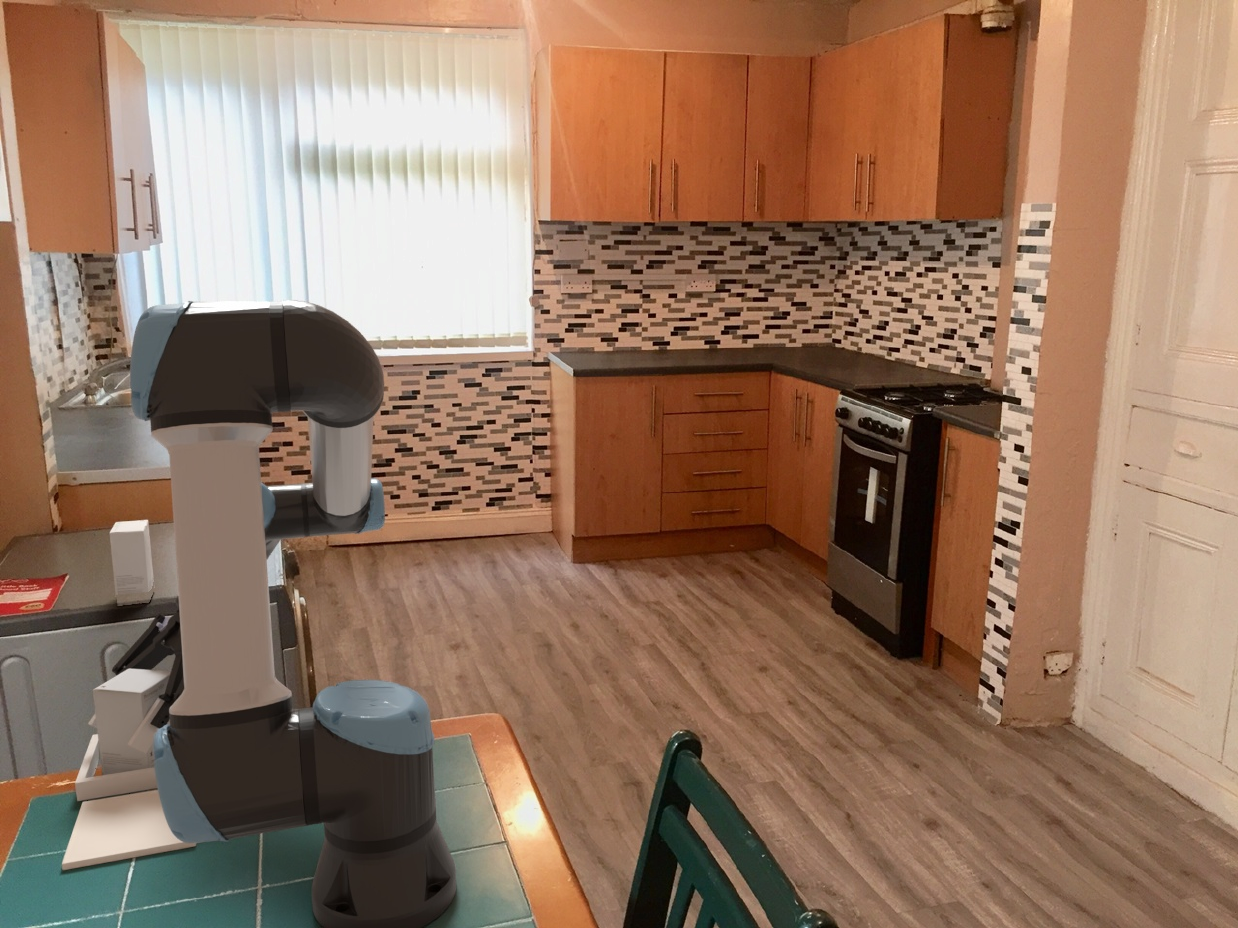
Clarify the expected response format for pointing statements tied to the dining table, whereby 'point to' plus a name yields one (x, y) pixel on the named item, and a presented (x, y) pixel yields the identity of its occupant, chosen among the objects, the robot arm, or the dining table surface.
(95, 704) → the supplement box
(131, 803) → the cream coaster
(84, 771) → the white square frame
